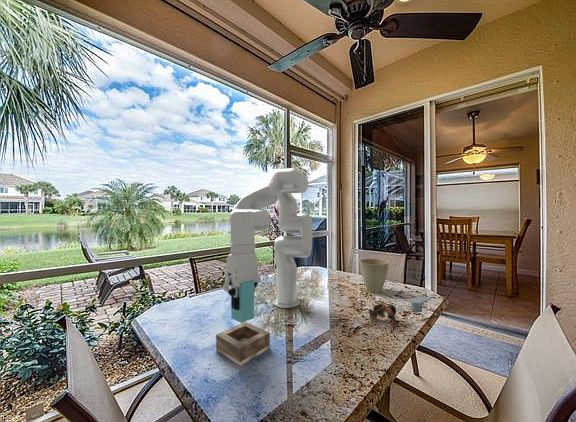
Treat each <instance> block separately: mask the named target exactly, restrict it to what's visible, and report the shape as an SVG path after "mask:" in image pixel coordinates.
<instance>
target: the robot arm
mask: <svg viewBox="0 0 576 422" xmlns="http://www.w3.org/2000/svg"><path fill="white" fill-rule="evenodd" d="M308 179H309V178H308V177H307V175H306V174H304V173H303V172H302V171H300V170H299V169H296V168H276V169H271V170H270V171H269V172H268V173H266V176H265V177H264V179H263V181H262V182H261V184H260V185H259V187H258V189H255V190H254V191H252V192H250V193H249V194H247V195H245V196H243V197H242V198H241V199H240V200H239V201H238V202H237V203H236V204H235V206H234V207H233V209H232V211H231V213H230V216H229V225H230V253H229V254H228V255H227V258H226V259H227V260H226V263H225V274H224V276H225V277H224V279H225V280H224V281H225V282H224V283H223V286H222V287H221V290H222V291H224V292H226V293H227V294H228V295H229V296H230V303H231V304H230V307H231V306H232V308H233V309H235V310H239V297H238V293H239V287H240V285H241V283H244V282H248V281H251V280H254V293H255V291H256V288H257V286H258V284H259V283H260V281H261V280H262V278H261V276H260V275H259V267H258V266H259V264H258V259H257V258H258V257H257V253H256V250H255V249H256V248H257V244H256V243H255V240H256V239H255V237H256V236H255V235H256V232H265V231H267V230H268V229H269V228H270V227H271V224H272V217H271V214H270V212H268V211H267V210H264V208H267V207H270V206H272V205H274V204H275V203H276V202H277V201H278V230H279V231H280V232H281V233H283V234H284V233H285V234H299V235H301V236H297V235H296V236H295V235H282V236H277V238H275V240H274V243H273V248H274V254H275V263H276V265H275V266H276V268H275V269H276V273H275V274H276V277H275V278H276V279H275V280H276V284H275V285H276V286H275V287H276V288H275V290H276V293H275V295H276V297H275V298H273V301H272V304H273V305H274V306H275V307H277V308H281V309H292V308H296V307H298V306H299V305H300V303H301V300H300V299H299V298H298V297H299V296H301V295H303V291H302V290H298V289H297V288H298V287H297V284H298V283H297V280H298V279H297V276H298V275H297V274H298V273H297V264H296V262H295V259H294V258H302V259H303V258H308V257H310V256H311V254H312V247H313V246H312V245H313V220H312V216H311V215H310V214H309V213H307V212H298V203H297V202H298V201H297V199H296V198H295V197H294V196H293V194H304V193H306V192H307V190H308V189H309V180H308ZM231 283H232V284H231ZM234 289H235V292H234ZM297 290H298V291H297Z"/></svg>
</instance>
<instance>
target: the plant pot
mask: <svg viewBox="0 0 576 422" xmlns="http://www.w3.org/2000/svg"><path fill="white" fill-rule="evenodd" d="M389 263H390V262H389V260H385V259H380V258H363V259H359V266H360V271H361V272H360V273H361V276H362V280H363V284H364V286H365V289H366V291H367V292H369V293H372V294H379V293H381V292H382V290H383V288H384V285H385V283H386V278H387V275H388V270H389V265H390V264H389Z"/></svg>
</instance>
